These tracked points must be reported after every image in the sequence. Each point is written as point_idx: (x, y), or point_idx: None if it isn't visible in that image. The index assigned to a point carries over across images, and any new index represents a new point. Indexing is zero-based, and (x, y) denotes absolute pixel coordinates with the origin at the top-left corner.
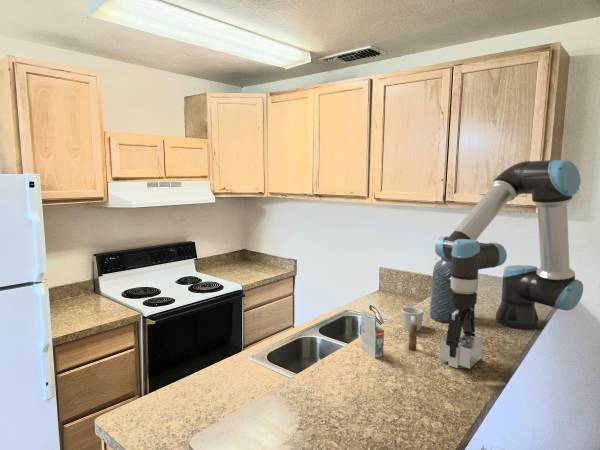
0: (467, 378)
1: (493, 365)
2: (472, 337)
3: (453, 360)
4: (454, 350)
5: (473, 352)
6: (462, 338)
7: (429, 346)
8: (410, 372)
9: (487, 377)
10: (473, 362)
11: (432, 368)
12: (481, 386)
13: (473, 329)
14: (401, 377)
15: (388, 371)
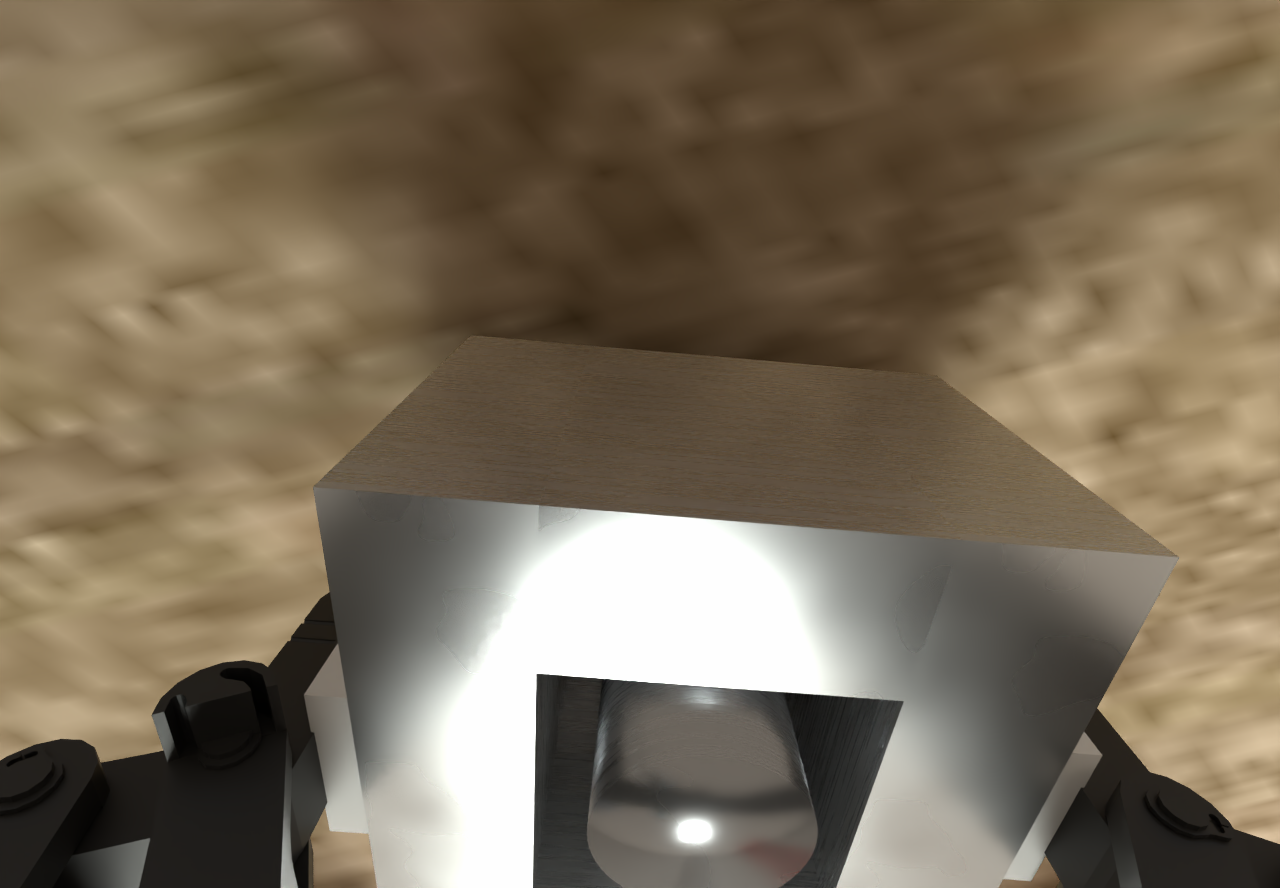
0: (977, 343)
1: (366, 153)
2: (365, 686)
3: None
4: (1123, 745)
5: (884, 459)
6: (650, 823)
7: None
8: None
9: (808, 129)
10: (804, 377)
11: None
12: (1128, 130)
13: (39, 846)
14: (1236, 798)
15: None
